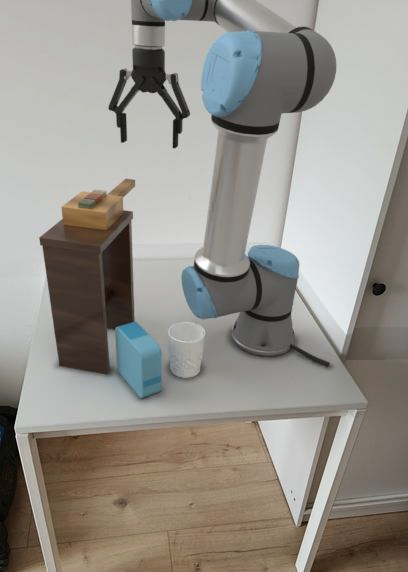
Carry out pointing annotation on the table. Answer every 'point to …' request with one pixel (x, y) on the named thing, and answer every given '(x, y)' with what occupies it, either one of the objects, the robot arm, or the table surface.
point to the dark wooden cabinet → (89, 289)
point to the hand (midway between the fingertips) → (149, 144)
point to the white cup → (186, 348)
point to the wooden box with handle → (96, 207)
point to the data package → (138, 359)
